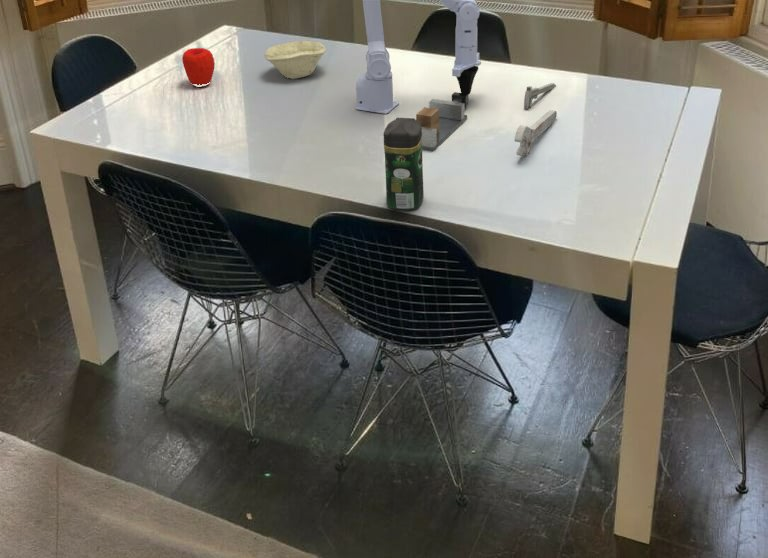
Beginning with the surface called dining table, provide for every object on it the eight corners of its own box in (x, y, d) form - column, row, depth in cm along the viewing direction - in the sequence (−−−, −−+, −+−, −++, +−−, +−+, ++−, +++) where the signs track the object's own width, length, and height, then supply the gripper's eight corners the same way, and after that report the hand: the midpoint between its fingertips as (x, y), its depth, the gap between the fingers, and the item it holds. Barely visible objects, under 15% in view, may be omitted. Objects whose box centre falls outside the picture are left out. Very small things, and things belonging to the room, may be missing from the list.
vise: (400, 145, 229) (399, 126, 227) (435, 114, 246) (435, 96, 243) (433, 151, 226) (433, 132, 223) (467, 118, 242) (467, 100, 240)
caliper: (527, 111, 246) (528, 89, 243) (523, 110, 246) (524, 88, 243) (556, 86, 261) (557, 65, 257) (552, 86, 261) (553, 64, 258)
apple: (221, 80, 274) (216, 44, 269) (210, 91, 267) (205, 54, 261) (193, 79, 276) (188, 43, 270) (181, 89, 269) (175, 53, 263)
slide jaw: (429, 116, 242) (429, 101, 240) (445, 101, 251) (445, 87, 249) (461, 120, 239) (461, 106, 237) (477, 105, 247) (477, 91, 245)
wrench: (555, 130, 241) (519, 163, 217) (548, 129, 242) (512, 162, 218) (558, 100, 238) (522, 130, 213) (551, 99, 239) (514, 129, 214)
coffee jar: (391, 191, 208) (388, 113, 199) (426, 193, 207) (424, 114, 197) (382, 211, 200) (379, 131, 191) (418, 213, 199) (417, 132, 189)
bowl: (290, 98, 272) (251, 65, 270) (315, 73, 285) (278, 41, 284) (313, 66, 263) (273, 32, 261) (338, 42, 276) (300, 9, 274)
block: (416, 136, 231) (416, 114, 228) (424, 129, 235) (424, 107, 232) (431, 139, 230) (430, 116, 226) (439, 131, 233) (439, 109, 230)
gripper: (470, 54, 236) (469, 105, 243) (490, 37, 247) (489, 86, 254) (444, 51, 239) (444, 101, 246) (465, 35, 250) (465, 83, 257)
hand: (465, 93), depth 250 cm, fingers closed
